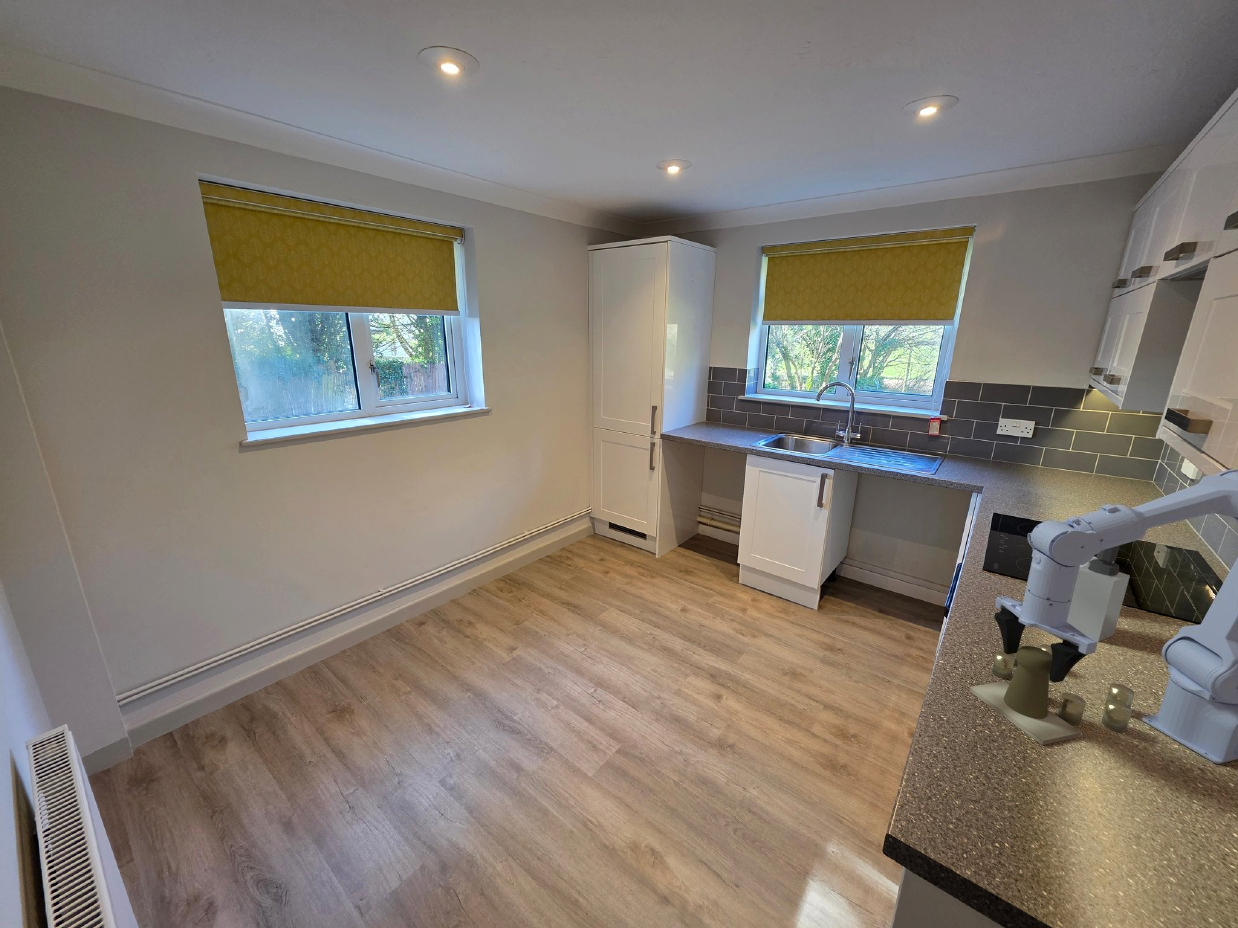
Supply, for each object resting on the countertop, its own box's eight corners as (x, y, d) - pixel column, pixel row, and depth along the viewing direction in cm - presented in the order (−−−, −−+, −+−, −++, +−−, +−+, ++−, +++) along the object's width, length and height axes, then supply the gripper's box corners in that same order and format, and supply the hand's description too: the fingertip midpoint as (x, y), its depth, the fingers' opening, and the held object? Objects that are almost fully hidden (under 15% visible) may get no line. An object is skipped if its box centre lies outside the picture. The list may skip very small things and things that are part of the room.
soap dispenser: (1065, 615, 116) (1086, 528, 111) (1113, 635, 108) (1138, 542, 103) (1050, 621, 113) (1070, 533, 108) (1098, 641, 106) (1122, 547, 100)
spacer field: (1155, 725, 82) (1161, 705, 81) (1089, 740, 79) (1095, 719, 78) (1028, 651, 102) (1032, 634, 101) (972, 661, 99) (975, 643, 98)
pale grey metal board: (1080, 736, 80) (1081, 732, 80) (1042, 744, 78) (1043, 740, 78) (1003, 684, 92) (1004, 680, 92) (969, 690, 90) (969, 686, 90)
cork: (1055, 721, 82) (1070, 664, 79) (1014, 715, 83) (1027, 659, 81) (1035, 697, 88) (1047, 643, 85) (996, 691, 89) (1008, 638, 86)
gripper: (987, 576, 86) (974, 644, 89) (1079, 620, 72) (1059, 698, 75) (1019, 572, 87) (1005, 639, 90) (1115, 614, 74) (1094, 691, 77)
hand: (1032, 666), depth 83 cm, fingers open, 7 cm apart
